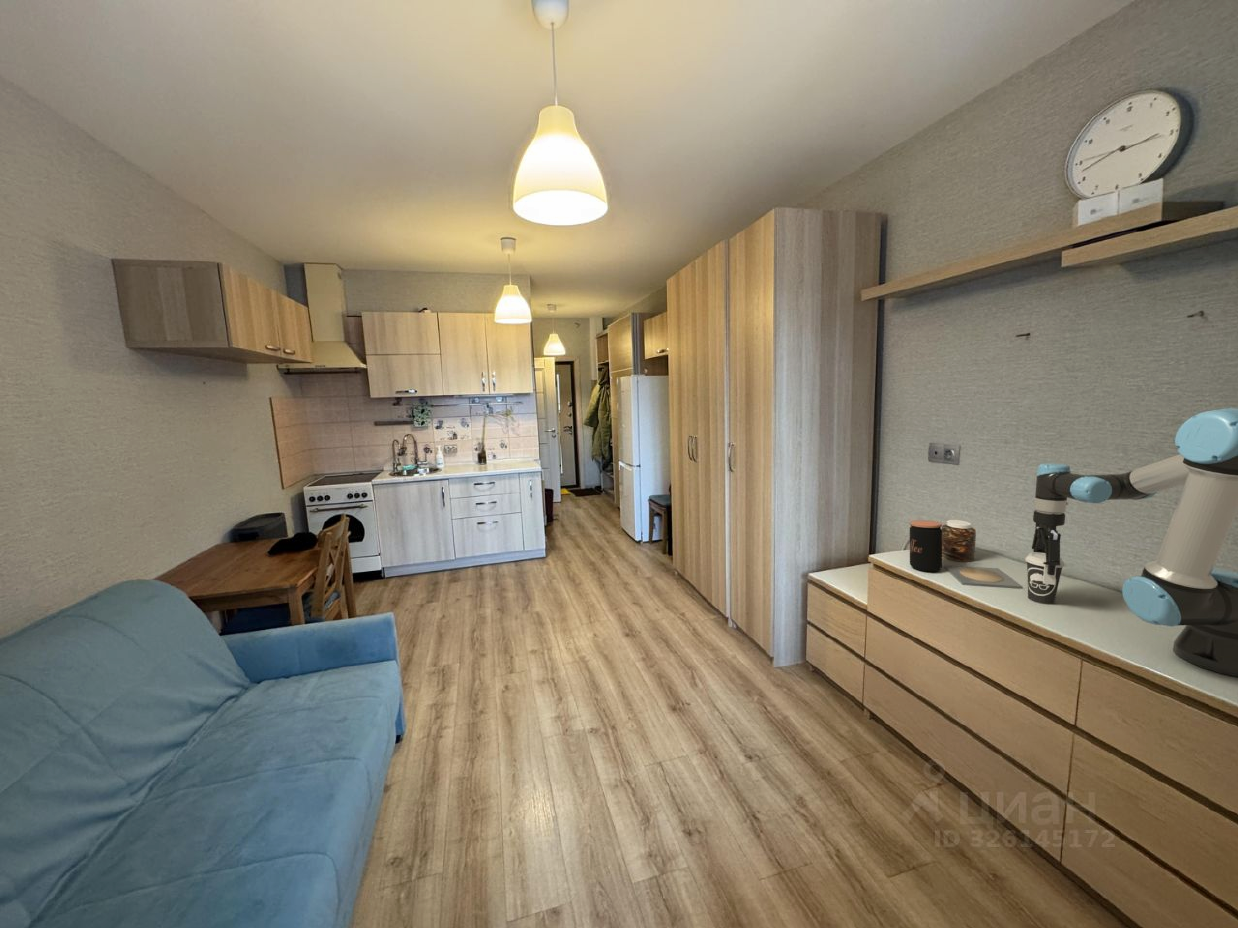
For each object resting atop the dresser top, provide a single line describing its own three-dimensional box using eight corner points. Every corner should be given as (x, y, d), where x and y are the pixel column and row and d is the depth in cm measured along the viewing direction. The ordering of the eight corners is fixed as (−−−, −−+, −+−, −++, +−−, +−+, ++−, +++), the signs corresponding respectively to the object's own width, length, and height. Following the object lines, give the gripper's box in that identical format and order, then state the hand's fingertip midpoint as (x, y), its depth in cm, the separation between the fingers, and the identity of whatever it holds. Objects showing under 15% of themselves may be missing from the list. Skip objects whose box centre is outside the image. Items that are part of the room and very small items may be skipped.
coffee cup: (1068, 607, 149) (1073, 561, 147) (1033, 605, 151) (1037, 560, 149) (1047, 594, 158) (1051, 551, 156) (1015, 593, 160) (1018, 551, 158)
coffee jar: (906, 563, 191) (906, 519, 190) (937, 564, 187) (937, 520, 186) (913, 571, 181) (913, 525, 180) (945, 572, 177) (946, 525, 176)
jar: (976, 556, 196) (978, 521, 194) (972, 564, 187) (974, 527, 185) (942, 550, 204) (944, 517, 202) (937, 558, 195) (939, 523, 193)
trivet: (1022, 588, 163) (1023, 586, 163) (962, 584, 168) (962, 582, 168) (998, 570, 180) (998, 567, 180) (943, 566, 185) (944, 564, 185)
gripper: (1079, 521, 139) (1071, 592, 142) (1052, 504, 158) (1045, 568, 161) (1046, 518, 142) (1039, 589, 145) (1023, 503, 162) (1018, 565, 165)
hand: (1043, 577), depth 153 cm, fingers closed on coffee cup, 9 cm apart
